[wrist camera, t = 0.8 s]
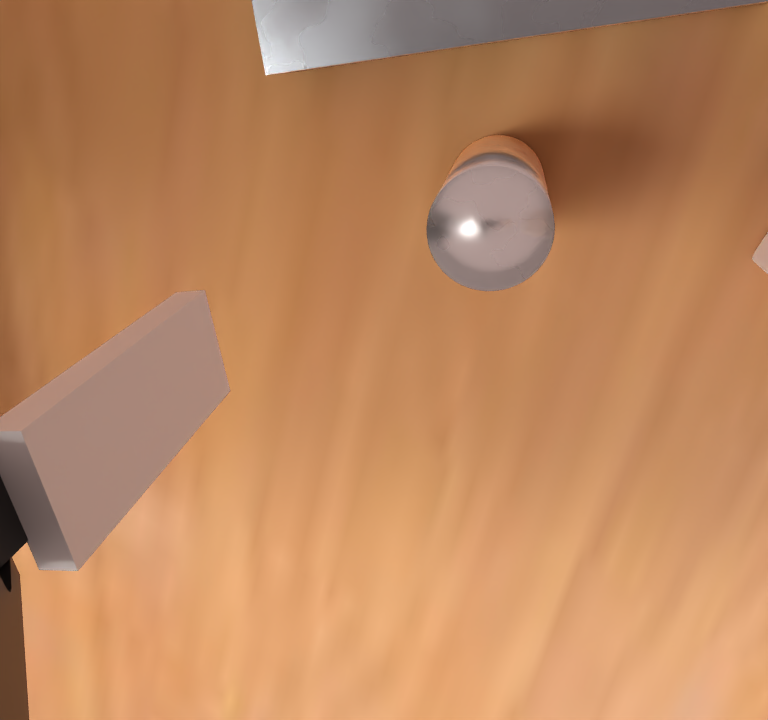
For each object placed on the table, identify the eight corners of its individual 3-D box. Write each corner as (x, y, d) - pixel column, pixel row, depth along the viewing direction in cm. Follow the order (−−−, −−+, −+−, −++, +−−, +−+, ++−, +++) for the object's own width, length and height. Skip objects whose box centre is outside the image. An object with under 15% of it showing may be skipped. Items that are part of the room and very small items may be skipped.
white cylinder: (453, 234, 32) (433, 294, 24) (445, 140, 30) (420, 173, 22) (545, 226, 31) (556, 286, 23) (542, 129, 30) (553, 159, 22)
